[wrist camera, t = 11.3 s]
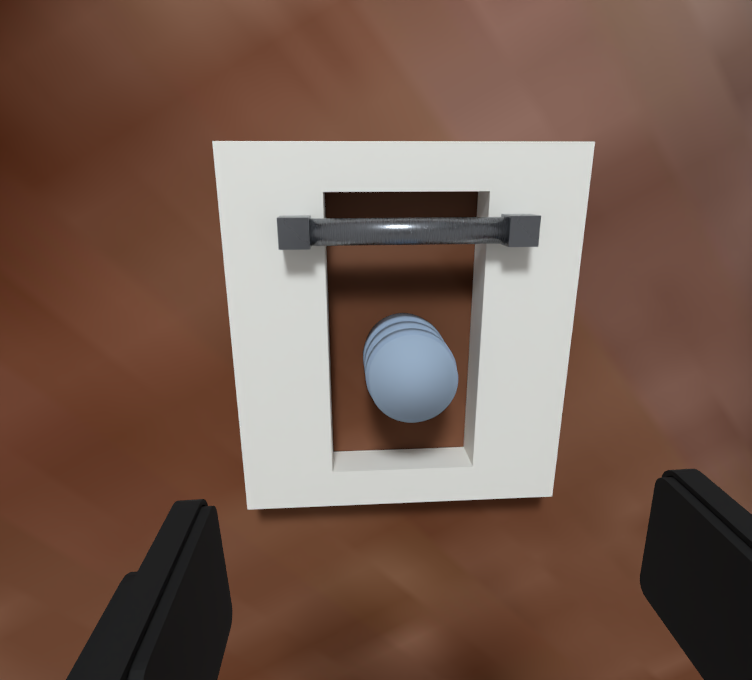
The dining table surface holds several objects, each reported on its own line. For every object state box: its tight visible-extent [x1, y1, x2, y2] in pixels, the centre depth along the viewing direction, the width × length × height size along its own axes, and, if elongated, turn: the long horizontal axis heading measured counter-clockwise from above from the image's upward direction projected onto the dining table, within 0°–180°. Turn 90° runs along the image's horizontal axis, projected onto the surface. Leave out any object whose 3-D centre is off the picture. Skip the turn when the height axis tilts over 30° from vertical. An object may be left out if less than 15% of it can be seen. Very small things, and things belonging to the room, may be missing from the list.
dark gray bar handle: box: [277, 214, 541, 250], centre depth 26 cm, size 14×2×2 cm, turn 90°
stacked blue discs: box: [363, 313, 458, 423], centre depth 29 cm, size 5×5×6 cm
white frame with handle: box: [212, 141, 595, 509], centre depth 30 cm, size 20×22×2 cm
